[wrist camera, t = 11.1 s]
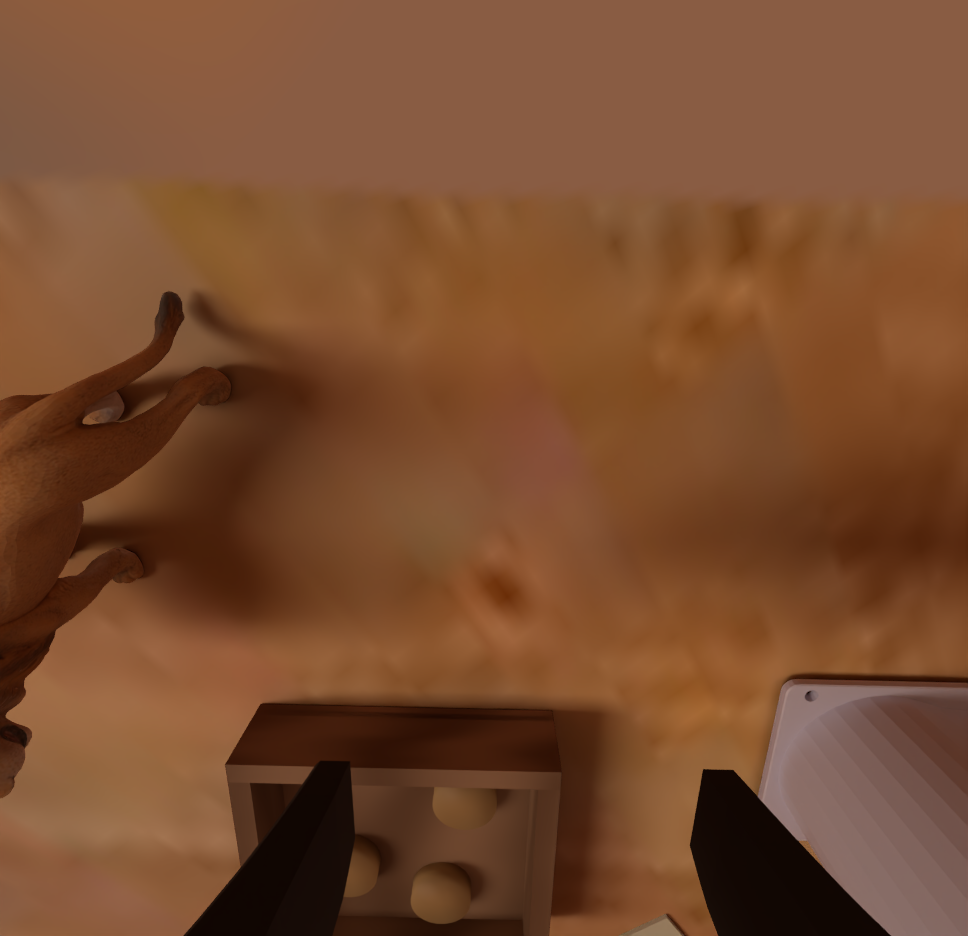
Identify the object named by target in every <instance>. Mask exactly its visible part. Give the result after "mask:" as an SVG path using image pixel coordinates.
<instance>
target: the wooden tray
mask: <svg viewBox="0 0 968 936" xmlns="http://www.w3.org/2000/svg"><path fill="white" fill-rule="evenodd" d="M319 761H350V766H351V781H352V796H353V810H354V825H355V842H354V847H353V852H352V857H351V862H350V867H349V873H348V877H347V882H346V887H345V892H344V897H343V901H342V904H341V908H340V911H339V915H338V918H337V922H336V925H335V928H334V932H333V935H332V936H549V930H550V918H551V905H552V892H553V879H554V867H555V854H556V841H557V828H558V815H559V803H560V790H561V777H562V770H561V764H560V758H559V752H558V745H557V739H556V733H555V726H554V720H553V714H552V711H545V710H501V709H457V708H413V707H370V706H326V705H282V704H260V706H259V708H258V709H257V711H256V713H255V715H254V716H253V718H252V720H251V721H250V723H249V725H248V726H247V728H246V730H245V732H244V733H243V735H242V737H241V738H240V740H239V742H238V743H237V745H236V747H235V749H234V750H233V752H232V754H231V755H230V757H229V759H228V761H227V762H226V764H225V768H226V774H227V781H228V787H229V794H230V800H231V807H232V813H233V820H234V826H235V833H236V839H237V846H238V852H239V859H240V865H241V867H242V865H243V864H244V863H245V861H246V860H247V859H248V858H249V856H250V855H251V854H252V852H253V851H254V850H255V848H256V847H257V846H258V844H259V843H260V842H261V841H262V839H263V838H264V837H265V835H266V834H267V833H268V831H269V830H270V829H271V827H272V826H273V825H274V823H275V822H276V821H277V819H278V818H279V817H280V815H281V814H282V812H283V811H284V810H285V808H286V807H287V806H288V804H289V803H290V801H291V800H292V798H293V797H294V796H295V794H296V793H297V791H298V790H299V788H300V787H301V785H302V784H303V783H304V781H305V780H306V778H307V777H308V775H309V774H310V772H311V771H312V769H313V768H314V766H315V765H316V764H317V763H318V762H319Z"/></svg>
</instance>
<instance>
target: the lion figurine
mask: <svg viewBox="0 0 968 936" xmlns="http://www.w3.org/2000/svg"><path fill="white" fill-rule="evenodd" d="M183 320H184V314H183V312H182V301H181V299H180V298H179V296H178V295H177V294H176V293H173V292H170V291H168V292H165V293H164V294H163V295H162V298H161V301H160V307H159V312H158V314H157V316H156V318H155V334H154V338H153V340H152V342H151V343H150V345H149V346H148V347H147V348H146V349H144V350H143V351H142V352H140V353H138V354H136V355H135V356H133V357H131V358H129V359H128V360H126V361H124V362H122V363H120V364H118V365H115V366H113V367H111V368H109V369H107V370H105V371H103V372H100V373H97V374H94V375H92V376H90V377H88V378H86V379H84V380H81V381H79V382H77V383H75V384H73V385H71V386H69V387H67V388H65V389H63V390H61V391H59V392H56V393H54V394H43V395H15V396H11V397H8V398H5V399H3V400H1V401H0V798H3V797H5V796H6V795H8V794H9V793H10V792H11V790H12V789H13V787H14V783H15V781H14V777H15V776H16V775H17V773H18V772H19V771H20V769H21V768H22V765H23V763H24V760H25V747H26V746H27V745H28V743H29V742H30V740H31V738H32V731H31V730H30V729H29V728H27V727H25V726H22V725H19V724H16V723H14V722H12V721H10V720H8V719H7V718H6V716H5V715H6V713H7V712H8V711H9V710H11V709H12V708H13V707H15V706H16V705H17V704H19V703H20V702H21V701H22V699H23V698H24V696H25V695H26V690H25V688H24V680H25V678H26V677H27V676H28V675H29V674H30V673H31V672H32V671H33V670H35V669H36V668H37V666H38V665H39V664H40V663H41V662H42V660H43V659H44V657H45V655H46V654H47V653H48V651H49V647H50V645H51V643H52V641H53V639H54V636H55V631H56V629H58V628H59V627H60V626H62V625H63V624H65V623H66V622H68V621H69V620H71V619H72V618H73V617H75V616H76V615H77V614H78V613H79V612H81V611H82V610H83V609H84V608H86V607H87V606H88V605H89V604H90V603H91V602H92V601H93V600H94V599H95V598H96V597H97V595H98V594H99V593H100V591H101V590H102V588H103V587H104V586H105V585H106V584H107V583H108V582H109V581H110V580H111V579H112V578H113V580H114V581H115V582H117V583H122V582H124V583H131V582H133V581H135V580H136V579H137V578H140V577H141V576H142V575H143V574H144V569H143V565H142V563H141V561H140V560H139V558H138V557H137V555H136V554H135V553H133V552H130V551H128V550H126V549H123V548H114V549H111V550H109V551H107V552H105V553H103V554H102V555H100V556H98V557H97V558H96V559H95V560H93V561H92V562H91V563H90V564H89V565H88V567H87V568H86V569H85V570H84V571H83V572H81V573H80V574H78V575H77V576H68V577H64V578H58V577H59V575H60V574H61V572H62V570H63V569H64V567H65V565H66V563H67V561H68V559H69V558H70V555H71V553H72V551H73V549H74V547H75V544H76V541H77V538H78V535H79V532H80V529H81V525H82V522H83V513H84V508H83V504H82V501H85V500H88V499H90V498H92V497H94V496H96V495H98V494H100V493H102V492H104V491H106V490H108V489H110V488H112V487H114V486H116V485H117V484H119V483H120V482H122V481H123V480H124V479H126V478H127V477H128V476H130V475H131V474H132V473H134V472H135V471H136V470H138V469H139V468H141V467H142V466H144V465H145V464H146V463H147V462H148V461H149V460H151V459H152V458H153V457H154V456H155V455H156V454H157V453H158V452H159V451H160V450H161V449H162V448H163V447H164V446H165V445H166V444H167V442H168V441H169V440H170V439H171V438H172V436H173V435H174V433H175V432H176V431H177V429H178V428H179V426H180V425H181V423H182V422H183V421H184V419H185V418H186V416H187V415H188V414H189V413H190V412H191V410H192V409H193V408H194V407H195V406H196V404H197V403H199V404H200V405H203V406H205V405H218V404H220V403H223V402H225V401H226V400H227V399H228V398H229V395H230V392H231V384H230V381H229V380H228V378H227V377H226V376H225V375H224V374H223V373H221V372H220V371H218V370H216V369H214V368H211V367H201V368H199V369H197V370H195V371H193V372H192V373H190V374H188V375H186V376H184V377H183V378H181V379H180V380H178V382H177V383H176V384H174V385H173V387H172V388H171V389H170V391H169V392H168V394H167V396H166V398H165V399H164V400H162V401H161V402H159V403H158V404H157V405H155V406H154V407H152V408H151V409H149V410H148V411H146V412H144V413H142V414H140V415H138V416H136V417H135V418H133V419H131V420H129V421H126V422H121V423H120V422H114V421H116V420H118V419H119V418H120V416H121V415H122V413H123V411H124V403H123V401H122V399H121V397H120V395H119V394H118V392H117V390H119V389H121V388H123V387H125V386H127V385H128V384H130V383H131V382H133V381H134V380H136V379H137V378H139V377H141V376H142V375H143V374H145V373H146V372H148V371H149V370H151V369H152V368H153V367H155V366H156V365H157V364H158V363H159V362H160V361H161V360H162V359H163V358H164V357H165V355H166V354H167V353H168V352H169V350H170V348H171V346H172V343H173V339H174V337H175V335H176V332H177V330H178V328H179V326H180V325H181V323H182V321H183ZM87 415H89V417H90V418H92V419H93V420H95V421H97V422H99V424H92V425H87V424H83V423H82V421H83V419H84V418H85V417H86V416H87Z"/></svg>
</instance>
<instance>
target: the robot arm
mask: <svg viewBox="0 0 968 936" xmlns="http://www.w3.org/2000/svg"><path fill="white" fill-rule="evenodd" d="M809 691H811V692H810V693H809V694H806V693H807V692H809ZM798 840H804V841H808V842H809V844H810V846H811V847H812V849H813V851H814V852H815V854H816V855H817V857H818V859H819V860H820V862H821V864H822V865H823V867H824V868H823V867H822V866H821V865H820V864H819V863H818V862H817V861H816V860H815V858H814V857H813V856H812V855H811V854H810V853H809V852H808V851H807V850H806V849H805V848H804V847H803V846H802V845H801V844H800V843H799V841H798ZM354 842H355V825H354V810H353V796H352V781H351V766H350V761H319V762H318V763H317V764H316V765H315V766H314V768H313V769H312V771H311V772H310V774H309V775H308V777H307V778H306V780H305V781H304V783H303V784H302V785H301V787H300V788H299V790H298V791H297V793H296V794H295V796H294V797H293V798H292V800H291V801H290V803H289V804H288V806H287V807H286V808H285V810H284V811H283V812H282V814H281V815H280V817H279V818H278V819H277V821H276V822H275V823H274V825H273V826H272V827H271V829H270V830H269V831H268V833H267V834H266V835H265V837H264V838H263V839H262V841H261V842H260V843H259V844H258V846H257V847H256V848H255V850H254V851H253V852H252V854H251V855H250V856H249V858H248V859H247V860H246V861H245V863H244V864H243V865H242V867H241V868H240V869H239V870H238V872H237V873H236V874H235V875H234V877H233V878H232V879H231V880H230V881H229V883H228V884H227V885H226V886H225V887H224V889H223V890H222V891H221V892H220V893H219V895H218V896H217V897H216V898H215V899H214V901H213V902H212V903H211V904H210V905H209V907H208V908H207V909H206V910H205V911H204V913H203V914H202V915H201V916H200V917H199V919H198V920H197V921H196V922H195V923H194V924H193V925H192V927H191V928H190V929H189V930H188V931H187V932H186V933H185V935H184V936H332V935H333V932H334V928H335V925H336V922H337V918H338V915H339V911H340V908H341V904H342V901H343V897H344V892H345V887H346V882H347V877H348V873H349V867H350V862H351V857H352V852H353V847H354ZM690 848H691V851H692V855H693V859H694V862H695V866H696V870H697V873H698V877H699V880H700V884H701V887H702V890H703V894H704V897H705V901H706V904H707V907H708V910H709V913H710V915H711V918H712V921H713V923H714V926H715V928H716V931H717V934H718V936H968V683H953V682H909V681H865V680H820V679H792V680H789V681H787V682H786V683H785V684H784V685H783V686H782V689H781V692H780V697H779V702H778V706H777V711H776V715H775V720H774V725H773V729H772V734H771V738H770V743H769V748H768V752H767V757H766V761H765V766H764V771H763V775H762V780H761V784H760V789H759V794H758V797H757V795H756V794H755V793H754V792H753V791H752V790H751V789H750V788H749V787H748V786H747V784H746V783H745V782H744V781H743V780H742V779H741V778H740V777H739V776H738V775H737V774H736V772H735V771H734V770H709V769H703V773H702V779H701V785H700V791H699V796H698V802H697V808H696V813H695V819H694V825H693V830H692V836H691V842H690Z"/></svg>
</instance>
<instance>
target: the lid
mask: <svg viewBox="0 0 968 936" xmlns="http://www.w3.org/2000/svg"><path fill="white" fill-rule="evenodd" d="M619 936H684V934H683V933H682V932H681V931H680V930H679V929H678V928H677V926H676V925H675V924H674V923H673V922H672V921H671V919H670V918H669V917H668V916H667V915H666V914H664V915H662V916H660V917H658V918H656V919H653V920H651V921H649V922H647V923H645V924H643V925H641V926H638V927H636V928H634V929H632V930H630V931H628V932H626V933H624V934H621V935H619Z"/></svg>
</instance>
